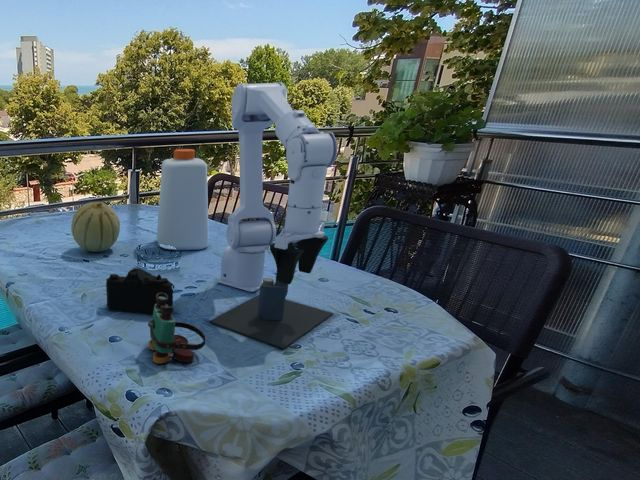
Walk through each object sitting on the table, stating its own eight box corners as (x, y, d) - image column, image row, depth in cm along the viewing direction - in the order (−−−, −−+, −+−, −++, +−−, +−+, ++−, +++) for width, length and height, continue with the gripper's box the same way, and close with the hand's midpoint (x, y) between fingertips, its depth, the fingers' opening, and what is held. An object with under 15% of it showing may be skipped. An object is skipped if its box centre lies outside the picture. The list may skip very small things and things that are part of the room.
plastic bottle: (210, 250, 137) (215, 151, 126) (159, 252, 137) (160, 153, 126) (202, 236, 151) (206, 146, 140) (155, 238, 151) (155, 148, 140)
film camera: (179, 300, 104) (180, 262, 101) (170, 318, 96) (170, 277, 92) (115, 293, 109) (114, 257, 105) (101, 310, 100) (99, 271, 97)
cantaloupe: (92, 241, 150) (90, 194, 144) (130, 247, 142) (129, 198, 136) (62, 253, 139) (58, 203, 133) (101, 261, 131) (98, 208, 125)
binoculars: (216, 311, 75) (155, 310, 74) (206, 368, 79) (148, 367, 78) (201, 290, 83) (146, 289, 82) (193, 342, 87) (141, 341, 86)
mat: (209, 322, 93) (209, 320, 93) (262, 294, 105) (262, 292, 105) (283, 350, 82) (283, 348, 82) (333, 314, 95) (333, 313, 94)
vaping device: (285, 321, 92) (292, 263, 87) (257, 319, 93) (263, 262, 88) (283, 315, 94) (290, 259, 89) (256, 314, 95) (261, 258, 90)
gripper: (306, 215, 75) (296, 293, 80) (344, 201, 84) (333, 272, 89) (266, 209, 80) (259, 283, 85) (307, 196, 89) (298, 264, 94)
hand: (295, 277), depth 87 cm, fingers open, 7 cm apart
